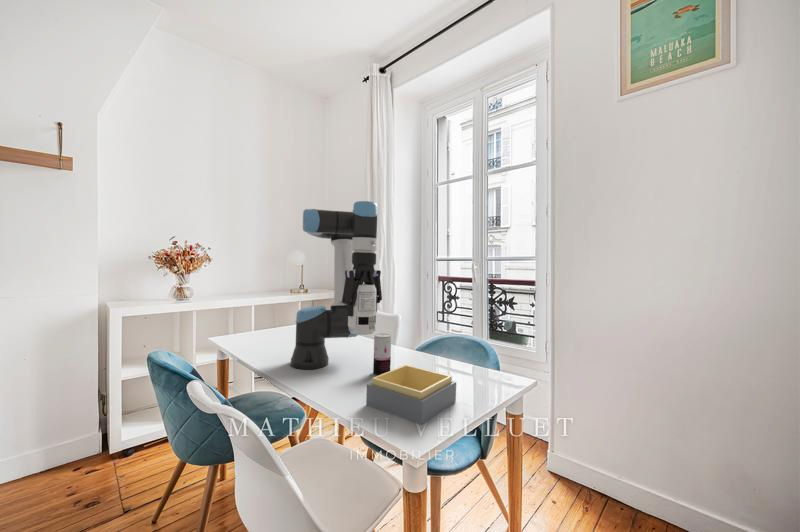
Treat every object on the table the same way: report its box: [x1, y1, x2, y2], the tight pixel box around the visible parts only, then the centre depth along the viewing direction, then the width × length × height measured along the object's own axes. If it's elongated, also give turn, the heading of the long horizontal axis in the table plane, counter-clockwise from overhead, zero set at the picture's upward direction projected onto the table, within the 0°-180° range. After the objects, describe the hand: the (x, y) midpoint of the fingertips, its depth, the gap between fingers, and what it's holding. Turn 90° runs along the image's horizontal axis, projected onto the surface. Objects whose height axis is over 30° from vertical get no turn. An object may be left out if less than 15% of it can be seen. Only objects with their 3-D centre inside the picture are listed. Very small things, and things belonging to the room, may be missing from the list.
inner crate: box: [371, 364, 453, 400], centre depth 108 cm, size 17×17×8 cm
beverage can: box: [372, 332, 392, 377], centre depth 137 cm, size 6×7×15 cm
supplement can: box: [349, 283, 377, 336], centre depth 110 cm, size 8×8×15 cm
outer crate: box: [365, 380, 457, 425], centre depth 108 cm, size 20×20×7 cm
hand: (362, 324), depth 110 cm, fingers closed on supplement can, 8 cm apart
